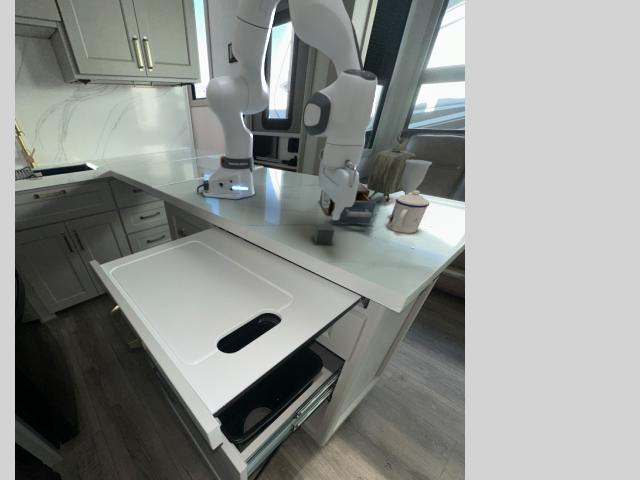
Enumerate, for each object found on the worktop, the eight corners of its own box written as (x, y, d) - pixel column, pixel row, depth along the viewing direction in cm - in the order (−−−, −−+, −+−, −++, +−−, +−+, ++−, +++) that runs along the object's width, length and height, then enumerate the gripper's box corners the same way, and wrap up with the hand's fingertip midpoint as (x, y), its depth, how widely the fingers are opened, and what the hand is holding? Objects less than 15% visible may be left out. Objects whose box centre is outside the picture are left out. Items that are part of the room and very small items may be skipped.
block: (315, 244, 77) (318, 229, 74) (313, 237, 80) (315, 223, 77) (330, 244, 76) (334, 230, 74) (328, 238, 80) (331, 224, 77)
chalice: (404, 215, 96) (426, 160, 85) (412, 222, 90) (436, 164, 79) (383, 214, 96) (402, 159, 85) (389, 221, 91) (411, 163, 80)
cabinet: (362, 216, 95) (369, 191, 90) (326, 214, 95) (332, 190, 90) (350, 202, 107) (356, 179, 102) (319, 201, 108) (323, 178, 102)
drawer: (374, 229, 83) (381, 207, 79) (337, 227, 84) (343, 206, 80) (357, 208, 99) (362, 189, 94) (326, 207, 99) (330, 188, 95)
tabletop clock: (383, 195, 115) (406, 126, 100) (403, 200, 109) (430, 129, 94) (362, 200, 109) (382, 128, 94) (381, 206, 103) (406, 130, 88)
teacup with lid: (391, 220, 92) (405, 185, 84) (420, 227, 87) (437, 190, 80) (379, 231, 85) (392, 193, 77) (409, 239, 80) (426, 200, 73)
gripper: (372, 165, 57) (354, 227, 65) (341, 150, 73) (330, 201, 81) (342, 165, 57) (328, 227, 65) (318, 150, 73) (310, 201, 81)
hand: (329, 212), depth 73 cm, fingers open, 8 cm apart
